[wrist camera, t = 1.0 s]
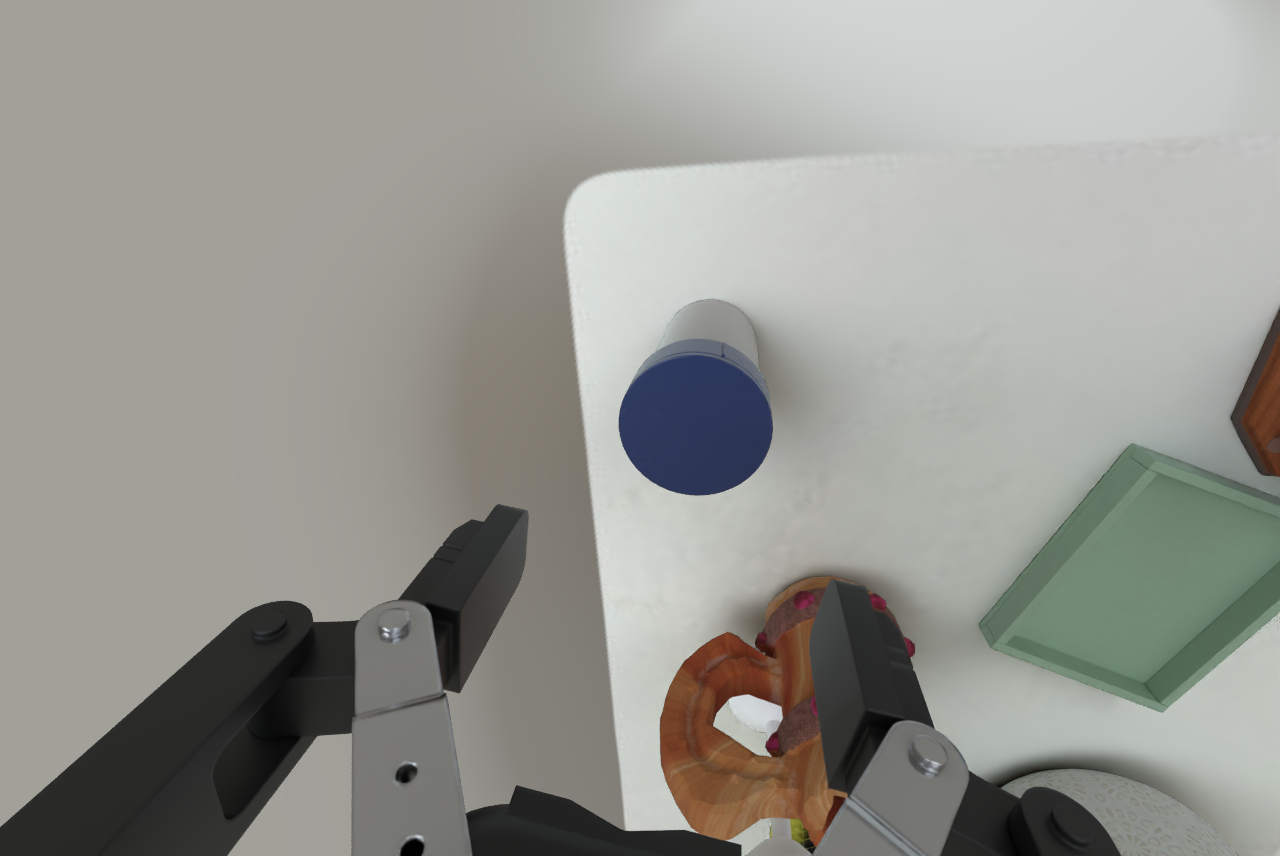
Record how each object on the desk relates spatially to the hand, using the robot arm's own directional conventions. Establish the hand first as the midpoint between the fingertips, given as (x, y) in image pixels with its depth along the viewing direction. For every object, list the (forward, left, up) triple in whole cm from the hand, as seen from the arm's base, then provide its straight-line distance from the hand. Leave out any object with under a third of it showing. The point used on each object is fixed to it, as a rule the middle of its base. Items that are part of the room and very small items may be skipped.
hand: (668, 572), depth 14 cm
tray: (+4, +29, -20) cm, 35 cm away
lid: (0, 0, -9) cm, 9 cm away
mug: (+15, +12, -20) cm, 28 cm away
